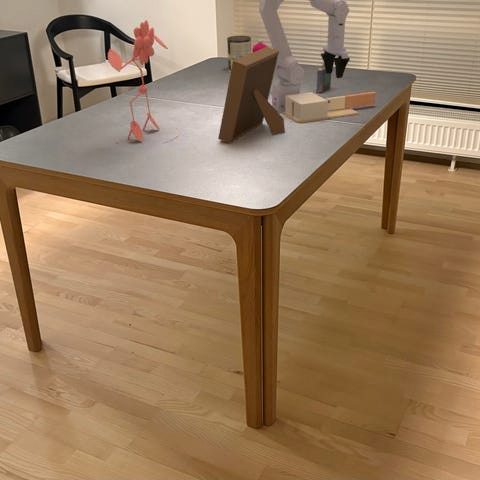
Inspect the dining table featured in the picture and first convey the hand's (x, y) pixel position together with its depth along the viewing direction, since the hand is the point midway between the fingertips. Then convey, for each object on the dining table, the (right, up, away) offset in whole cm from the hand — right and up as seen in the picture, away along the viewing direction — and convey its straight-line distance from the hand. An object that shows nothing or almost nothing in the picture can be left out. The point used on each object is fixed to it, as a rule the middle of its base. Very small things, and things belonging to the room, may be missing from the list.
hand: (334, 75), depth 221 cm
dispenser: (-6, -16, -9) cm, 19 cm away
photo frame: (-29, -26, -27) cm, 47 cm away
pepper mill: (-26, -2, +18) cm, 31 cm away
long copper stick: (+4, -13, -6) cm, 15 cm away
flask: (-1, -1, +18) cm, 18 cm away
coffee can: (-34, +16, +51) cm, 63 cm away
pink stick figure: (-61, -27, -26) cm, 72 cm away
